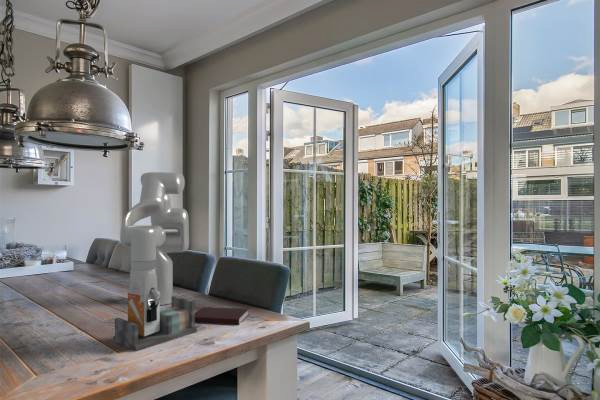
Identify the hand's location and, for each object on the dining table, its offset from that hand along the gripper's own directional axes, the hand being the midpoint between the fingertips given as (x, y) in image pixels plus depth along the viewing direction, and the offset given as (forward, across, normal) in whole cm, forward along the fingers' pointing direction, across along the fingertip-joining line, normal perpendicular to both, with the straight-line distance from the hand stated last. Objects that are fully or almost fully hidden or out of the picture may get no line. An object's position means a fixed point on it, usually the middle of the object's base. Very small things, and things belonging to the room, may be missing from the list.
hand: (143, 318), depth 125 cm
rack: (+7, 0, +4) cm, 8 cm away
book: (+8, +2, +30) cm, 31 cm away
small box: (+5, 0, 0) cm, 5 cm away
